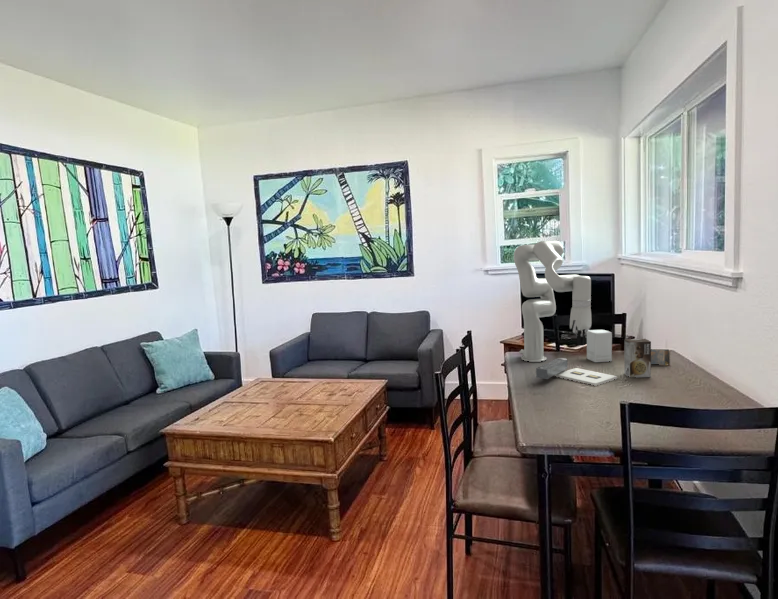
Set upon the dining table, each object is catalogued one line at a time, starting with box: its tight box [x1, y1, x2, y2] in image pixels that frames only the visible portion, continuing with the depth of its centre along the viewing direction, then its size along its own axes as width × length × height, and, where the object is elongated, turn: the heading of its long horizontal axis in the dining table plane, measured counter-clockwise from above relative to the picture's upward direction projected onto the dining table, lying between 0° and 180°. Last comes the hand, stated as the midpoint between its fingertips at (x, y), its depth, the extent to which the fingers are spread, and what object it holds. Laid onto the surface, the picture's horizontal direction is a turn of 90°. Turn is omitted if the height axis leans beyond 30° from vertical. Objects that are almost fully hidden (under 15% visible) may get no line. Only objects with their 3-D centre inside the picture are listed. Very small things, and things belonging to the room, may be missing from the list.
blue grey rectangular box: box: [651, 348, 671, 366], centre depth 227 cm, size 11×3×10 cm, turn 74°
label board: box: [554, 367, 618, 387], centre depth 212 cm, size 23×16×2 cm
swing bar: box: [535, 357, 568, 380], centre depth 213 cm, size 24×5×4 cm, turn 138°
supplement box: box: [586, 329, 613, 363], centre depth 240 cm, size 9×9×15 cm
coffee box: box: [623, 338, 652, 378], centre depth 209 cm, size 9×6×16 cm
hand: (581, 344), depth 211 cm, fingers closed
